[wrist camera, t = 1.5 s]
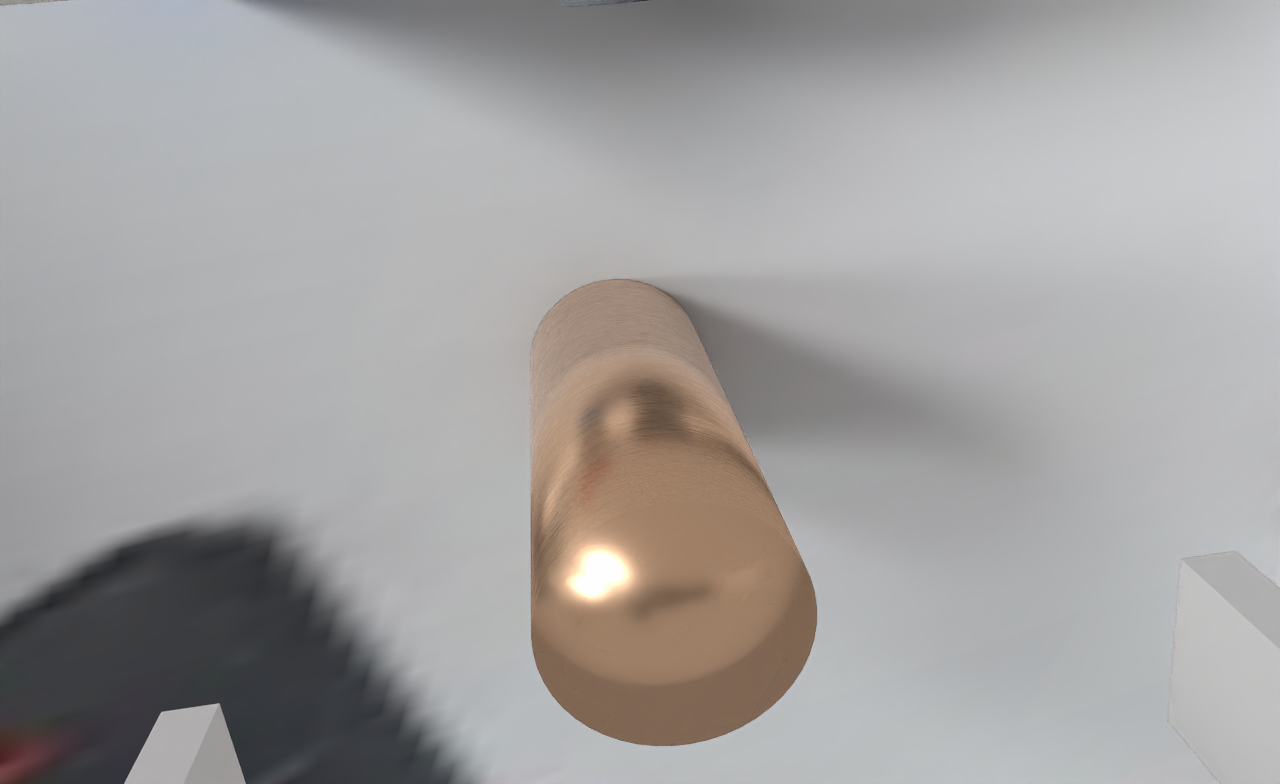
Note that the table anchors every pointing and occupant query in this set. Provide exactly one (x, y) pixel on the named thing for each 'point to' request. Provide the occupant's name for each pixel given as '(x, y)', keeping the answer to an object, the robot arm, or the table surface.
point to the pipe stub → (653, 530)
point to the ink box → (24, 1)
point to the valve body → (593, 2)
